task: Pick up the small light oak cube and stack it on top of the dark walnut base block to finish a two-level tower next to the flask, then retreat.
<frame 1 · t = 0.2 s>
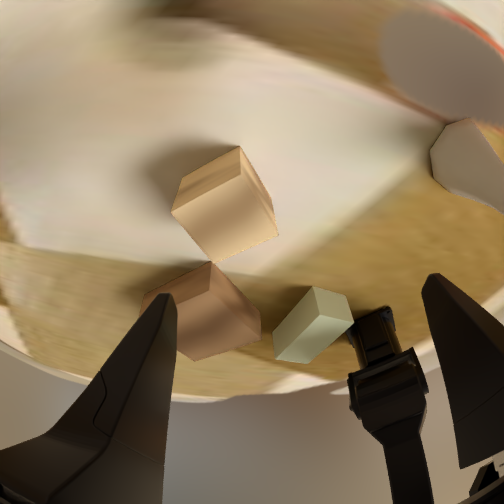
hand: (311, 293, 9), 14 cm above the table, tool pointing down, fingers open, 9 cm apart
oak cube: (227, 186, 22), on the table
base block: (202, 301, 31), on the table
flask: (457, 153, 20), on the table
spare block: (307, 313, 33), on the table
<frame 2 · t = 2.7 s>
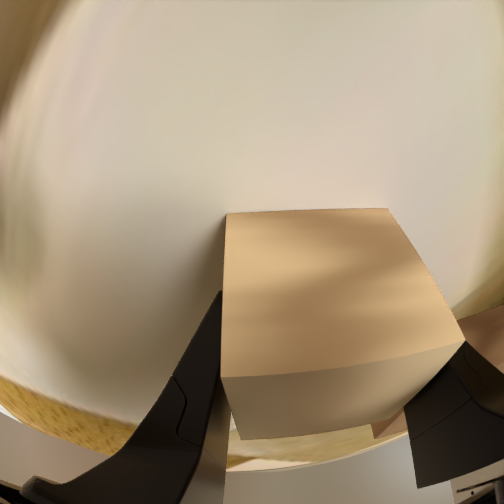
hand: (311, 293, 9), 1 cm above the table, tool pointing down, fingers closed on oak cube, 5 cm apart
oak cube: (305, 271, 10), on the table, touching gripper
base block: (433, 354, 16), on the table
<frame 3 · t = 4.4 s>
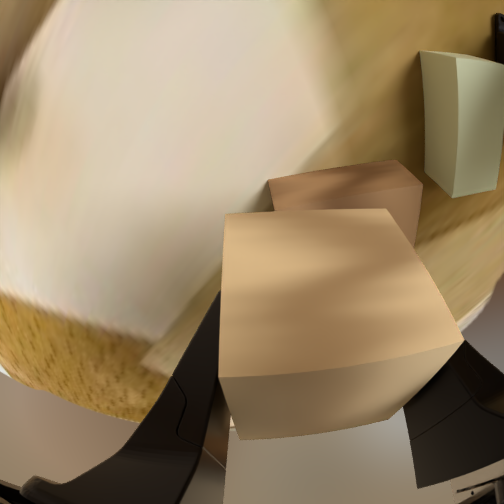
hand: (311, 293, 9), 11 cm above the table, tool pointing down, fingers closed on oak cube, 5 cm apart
oak cube: (304, 271, 10), point 10 cm above the table, touching gripper
base block: (337, 221, 21), on the table
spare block: (447, 111, 15), on the table
when the fingers open (6 cm above the table, at t = 6.5 s): oak cube drops 1 cm, point 4 cm above the table.
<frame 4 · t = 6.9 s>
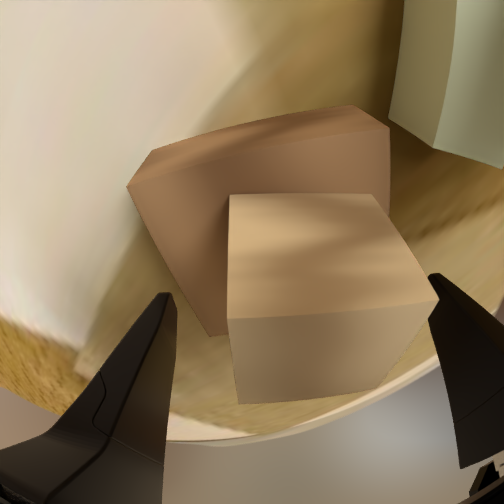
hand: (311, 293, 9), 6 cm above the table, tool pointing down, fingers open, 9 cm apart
oak cube: (298, 250, 11), point 4 cm above the table
base block: (271, 204, 15), on the table
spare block: (438, 44, 9), on the table
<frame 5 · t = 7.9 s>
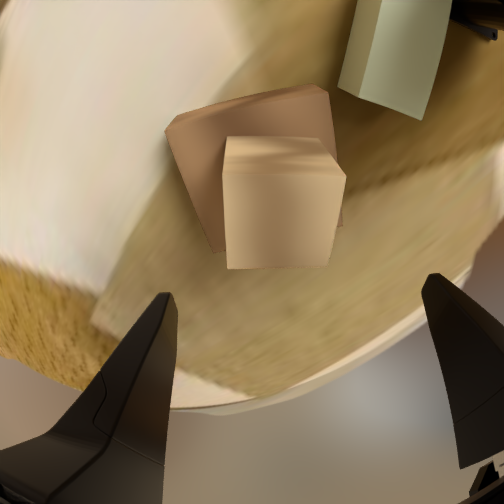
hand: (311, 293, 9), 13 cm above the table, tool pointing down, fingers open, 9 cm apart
oak cube: (271, 176, 17), point 4 cm above the table, touching base block
base block: (259, 155, 20), on the table, touching oak cube
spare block: (380, 38, 14), on the table
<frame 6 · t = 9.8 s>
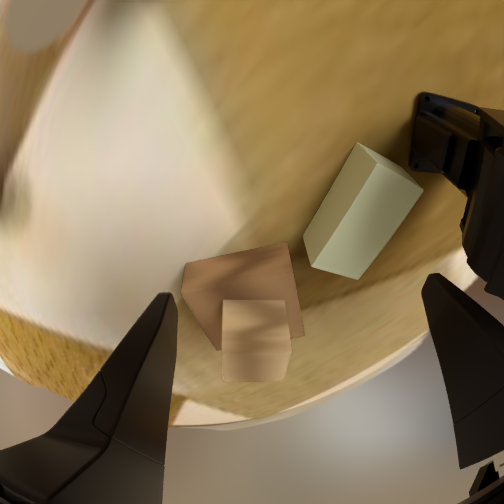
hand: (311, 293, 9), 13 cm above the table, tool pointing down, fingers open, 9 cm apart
oak cube: (252, 318, 25), point 4 cm above the table, touching base block
base block: (247, 285, 28), on the table, touching oak cube
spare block: (350, 200, 22), on the table
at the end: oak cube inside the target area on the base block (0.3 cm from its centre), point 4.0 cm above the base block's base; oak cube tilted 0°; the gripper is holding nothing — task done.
